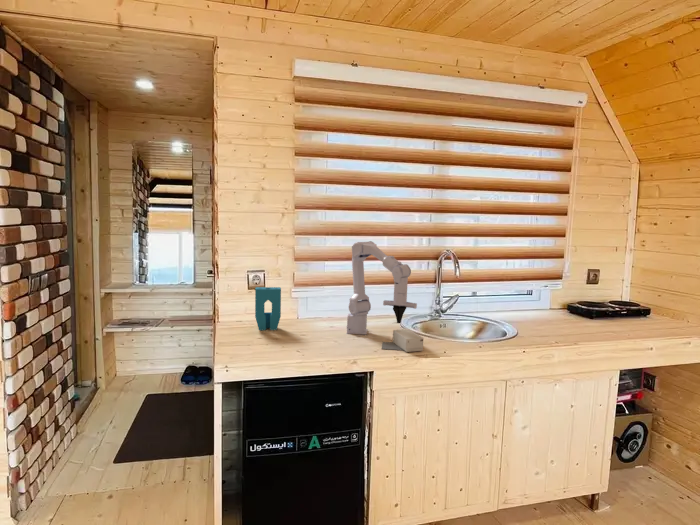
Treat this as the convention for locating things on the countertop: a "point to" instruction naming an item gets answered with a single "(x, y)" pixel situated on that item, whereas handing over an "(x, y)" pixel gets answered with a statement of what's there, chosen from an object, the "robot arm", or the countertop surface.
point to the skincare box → (408, 340)
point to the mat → (391, 346)
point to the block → (261, 297)
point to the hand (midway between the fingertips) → (399, 322)
